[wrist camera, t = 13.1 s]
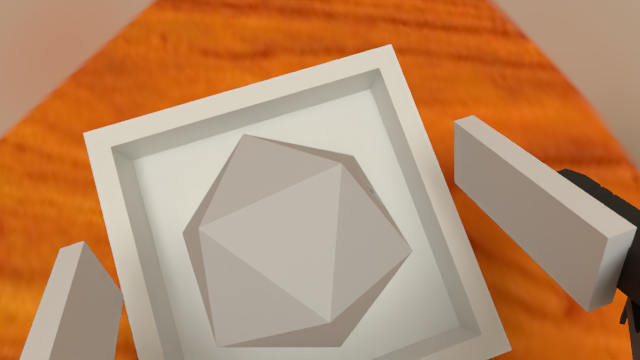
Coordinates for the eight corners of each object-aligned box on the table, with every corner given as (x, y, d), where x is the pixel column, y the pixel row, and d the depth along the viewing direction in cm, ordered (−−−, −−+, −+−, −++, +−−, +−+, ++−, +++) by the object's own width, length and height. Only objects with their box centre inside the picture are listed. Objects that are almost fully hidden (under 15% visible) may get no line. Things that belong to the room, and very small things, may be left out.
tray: (191, 444, 20) (168, 483, 16) (116, 152, 22) (83, 133, 19) (477, 335, 21) (512, 349, 18) (377, 75, 24) (391, 44, 20)
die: (365, 348, 21) (495, 244, 14) (192, 420, 16) (270, 311, 9) (300, 215, 25) (378, 87, 18) (147, 239, 20) (179, 77, 13)
